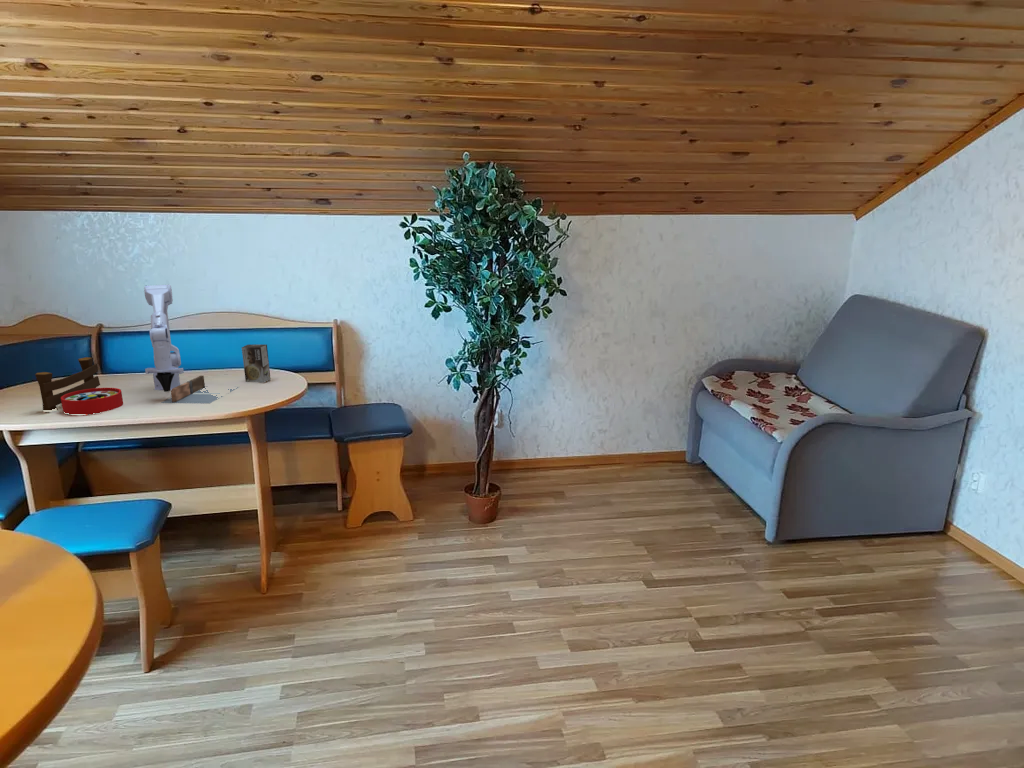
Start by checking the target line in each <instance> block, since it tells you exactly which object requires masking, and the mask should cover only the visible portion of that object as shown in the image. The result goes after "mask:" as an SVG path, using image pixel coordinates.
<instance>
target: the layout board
mask: <svg viewBox="0 0 1024 768" xmlns="http://www.w3.org/2000/svg"><path fill="white" fill-rule="evenodd" d="M236 387H237V388H236V389H233V390H232V389H230V393H231V392H233V391H235V390H237V389H239V388H240V386H236ZM202 389H203V388H202ZM202 389H200V390H202ZM205 389H206V388H205ZM200 390H198V391H196V392H194V393H193V394H189V395H187V396H185V397H183V398H181V399H179V400H177V401H176V402H172V397H169V398H167V399H166V400H163V401H161V402H160V404H204V405H205V404H206V405H207V404H212V403H214V402H215V401H217V400H219V399H220V398H218V397H216V396H217V395H216V396H213V395H211V394H220V393H209V392H208V390H206V391H207V392H206V391H203V392H204V393H203V392H201V391H200ZM228 390H229V389H228ZM217 398H218V399H217ZM221 398H223V396H221Z"/></svg>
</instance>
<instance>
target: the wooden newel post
mask: <svg viewBox="0 0 1024 768" xmlns="http://www.w3.org/2000/svg"><path fill="white" fill-rule="evenodd" d="M189 384H190V383H189V382H187V381H186V382H183V383H180V385H179V386H177V387H175V388H173V389H172V390H170V396H171V397H172V402H176V401H177V400H179V399H181V398H183V397H185V396H187V395H189V394H190V387H189ZM171 397H170V398H171Z"/></svg>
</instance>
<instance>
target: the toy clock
mask: <svg viewBox="0 0 1024 768" xmlns="http://www.w3.org/2000/svg"><path fill="white" fill-rule="evenodd" d="M61 403H62V404H61V407H62V412H63V411H64V412H65V413H69V414H93V413H100V412H101V413H105V412H109V411H113V410H116V409H118V408H121V407H122V406H123V405H124V400H123V393H122V389H120V388H117V387H96V388H93V389H85V390H79V391H75V392H71V393H68V394H65V395H63V396H62V397H61ZM101 413H100V414H101Z"/></svg>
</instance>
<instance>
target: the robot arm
mask: <svg viewBox="0 0 1024 768" xmlns="http://www.w3.org/2000/svg"><path fill="white" fill-rule="evenodd" d="M143 289H144V291H143V292H144V297H145V300H146V303H147V304H148V306H150V307H151V306H152V309H153V313H152V314H151V315H150V328H151V329H149V338H150V341H151V346H152V349H153V362H154V367H147V368H144V370H145V375H147V374H152V376H153V377H152V378H153V385H154V389H153V390H154V391H163V392H165V393H168V392H171V390H172V389H173V388H175V387H177V386H179V385H181V380H180V375H182V374H184V372H185V370H184V367H180V366H181V365H182V361H181V353H180V350H179V348H178V347H177V346H176V345H174V344H172V340H171V339H172V338H171V332H170V323H169V315H168V314H169V313H168V308H169V306H171V305H172V304H173V300H174V299H173V291H172V285H171V284H170V283H168V284H155V285H154V284H153V285H152V284H150V285H144V286H143Z"/></svg>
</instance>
